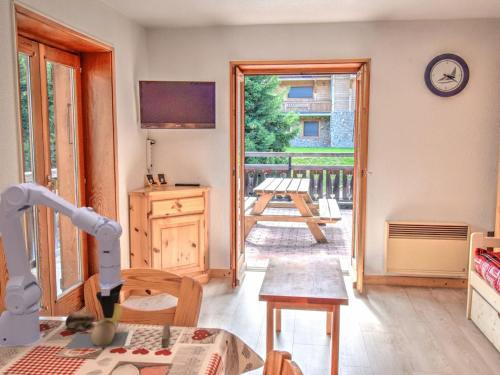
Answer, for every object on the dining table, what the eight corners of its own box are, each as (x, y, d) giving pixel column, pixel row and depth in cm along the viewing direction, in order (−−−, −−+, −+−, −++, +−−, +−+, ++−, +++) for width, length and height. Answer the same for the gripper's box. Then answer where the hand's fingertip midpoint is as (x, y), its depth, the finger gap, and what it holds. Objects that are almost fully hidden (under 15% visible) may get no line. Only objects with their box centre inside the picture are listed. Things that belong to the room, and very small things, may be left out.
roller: (91, 346, 121) (91, 326, 120) (98, 333, 129) (97, 314, 129) (113, 345, 121) (112, 325, 121) (118, 332, 130) (118, 313, 130)
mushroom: (86, 326, 128) (83, 305, 131) (61, 336, 129) (58, 315, 132) (100, 329, 135) (97, 309, 138) (76, 339, 136) (74, 319, 139)
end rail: (161, 347, 122) (161, 339, 121) (164, 330, 133) (164, 322, 133) (167, 347, 122) (167, 338, 122) (169, 330, 134) (169, 322, 133)
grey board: (66, 351, 119) (66, 348, 119) (76, 336, 129) (76, 333, 129) (129, 347, 121) (129, 345, 121) (133, 333, 131) (133, 331, 131)
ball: (99, 322, 122) (105, 304, 122) (103, 315, 127) (108, 298, 127) (118, 326, 123) (123, 309, 123) (120, 319, 128) (126, 303, 128)
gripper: (120, 271, 117) (121, 322, 118) (128, 258, 132) (128, 304, 133) (92, 272, 117) (93, 323, 117) (103, 259, 131) (104, 305, 132)
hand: (110, 313), depth 125 cm, fingers open, 6 cm apart
